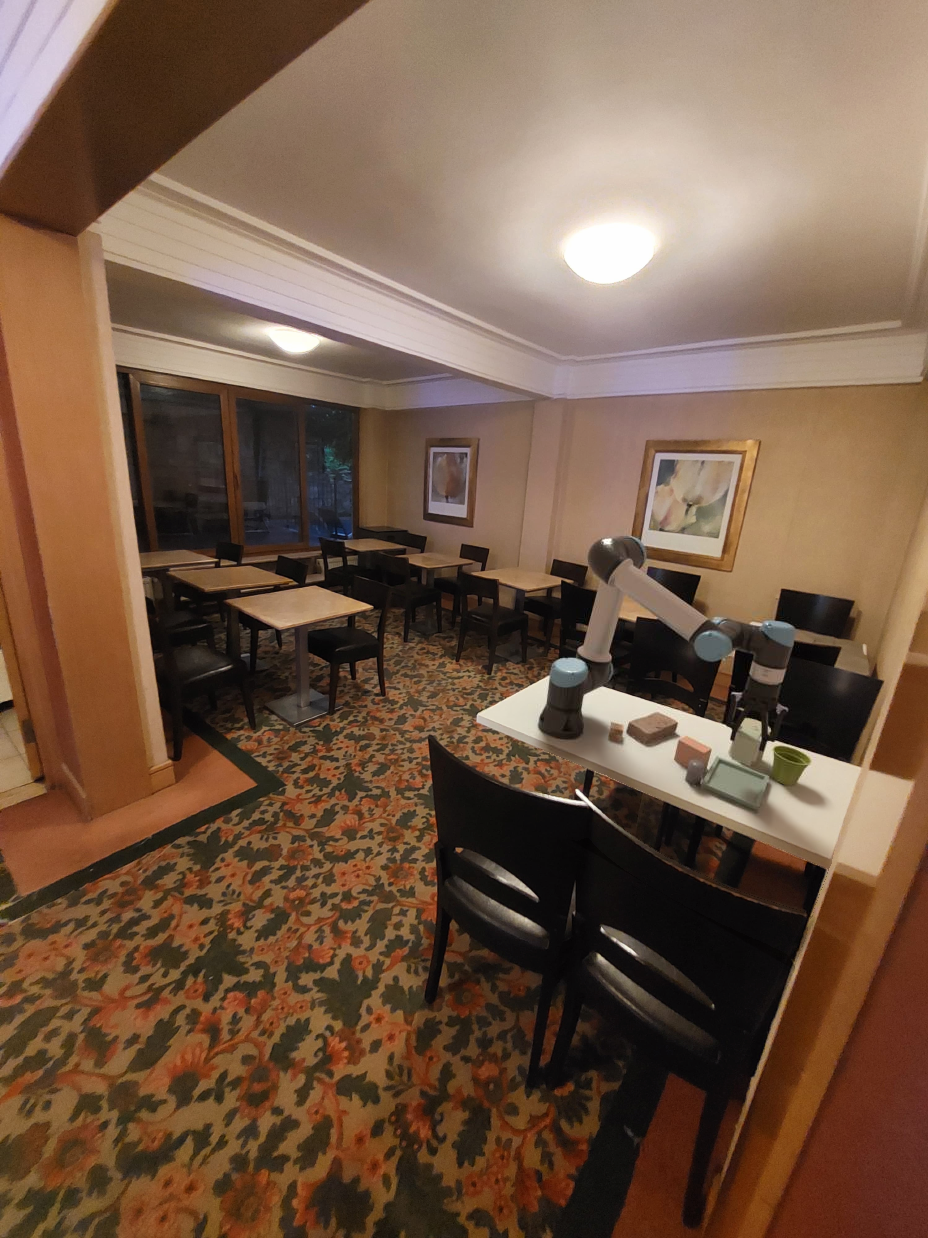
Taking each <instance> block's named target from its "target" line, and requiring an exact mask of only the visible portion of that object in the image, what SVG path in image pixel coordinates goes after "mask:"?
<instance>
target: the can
mask: <svg viewBox="0 0 928 1238" xmlns="http://www.w3.org/2000/svg"><path fill="white" fill-rule="evenodd" d="M743 726H744V727H747V728H750V729H753V730H756V731H760V732H761V720H760V721H759V720H757V719H753V718H749V717H745V719H744V721H743V722H742V724H741V725H740V727H739V729H740V730H741V729H742V727H743ZM771 733H772V729H771V727H770V726H769V725H768V735H771ZM760 737H762V734H761V735H760ZM733 743H734V741H731V744H730V746H729V749H728V754H729V757H731V758H732V756H733V754H732V753H731V751H732V747H733ZM767 743H768V741H767V742H766V746H765V749H764V751H763V752H762V751H760V750H759V752H758V755H757V758H756V761H755V762H754V761H752V763H751V765H750V767H752V766H753V767H756V766H757V767H758V766H760V765H762V763H763V757H764V754H765V750H766V747H767ZM739 763H741V762H739ZM741 764H742V763H741Z"/></svg>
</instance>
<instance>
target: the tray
mask: <svg viewBox="0 0 928 1238" xmlns="http://www.w3.org/2000/svg"><path fill="white" fill-rule="evenodd" d="M769 778H770V776H769V775H767V774H764V773H762V772H759V771H756V770H753V769H751V768H749V767H746V766H743V765H741V764H739V763H736V762H732V761H730V760H727V759H725V758H723V757H720V756H718V755H717V756H715V759H714V760H713V762H712V763H711V766H710V767H709V770H707V772H706V774H705V776H704V777H703V779H702V781H701V783H700V788H699V790H701V791H704V792H706V793H709V794H711V795H713V796H716V797H718V798H721V799H723V800H725V801H727V802H729V803H732V804H734V805H737V806H740V807H741V808H744V809H746V810H749V811H751V812H753V813H756V814H758V812H759V809H760V806H761V803H762V799H763V797H764V794H765V791H766V788H767V785H768V782H769Z"/></svg>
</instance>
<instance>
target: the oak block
mask: <svg viewBox="0 0 928 1238" xmlns="http://www.w3.org/2000/svg"><path fill="white" fill-rule="evenodd" d="M624 727H625V725H624V724H621V723H618V722H617V723H616V722H613V721H611V722H610V725H609V733H608V739H609V740H610V739H611V740H614V741H619V742H622V740H623V734H624Z"/></svg>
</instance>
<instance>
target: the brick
mask: <svg viewBox="0 0 928 1238" xmlns="http://www.w3.org/2000/svg"><path fill="white" fill-rule="evenodd" d="M678 725H679V722H678V721H677V720H676V719H674V718H672V717H669V716H668V715H665V714H663V713H661V712H659V711H657V712H656V711H655V712H653V713H650V714H648V715H646V716H643V717H640V718H635V719H633V720H631V721H630V720H629V722H628V724H627V727H626V730H625V731H626V734H628V735H629V736H632V737H633V738H634V739H636V740H637V741H638V742H641V743H642V744H649V743H651V742H653V741H656V740H659V739H661V738H665V737H667V736H670V735H672V734H674V733H676V731H677V729H678Z"/></svg>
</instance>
